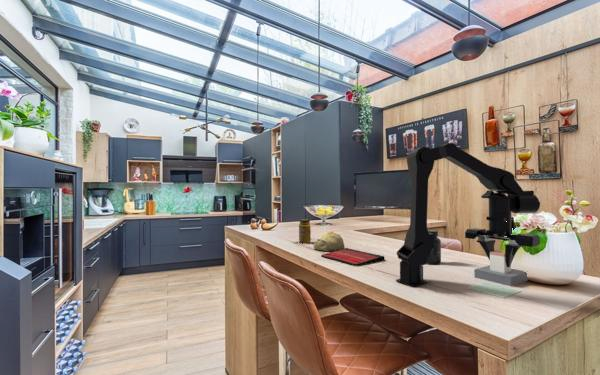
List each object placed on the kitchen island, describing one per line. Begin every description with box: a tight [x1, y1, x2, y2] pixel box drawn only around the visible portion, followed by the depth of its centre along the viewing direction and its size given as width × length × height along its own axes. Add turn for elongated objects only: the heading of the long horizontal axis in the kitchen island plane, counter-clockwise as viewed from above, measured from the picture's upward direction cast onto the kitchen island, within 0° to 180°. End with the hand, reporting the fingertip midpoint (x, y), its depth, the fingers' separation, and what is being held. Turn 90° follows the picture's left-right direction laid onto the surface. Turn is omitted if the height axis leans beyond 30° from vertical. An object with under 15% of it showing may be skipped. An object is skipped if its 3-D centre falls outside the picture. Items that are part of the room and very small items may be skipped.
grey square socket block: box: [473, 264, 529, 287], centre depth 92 cm, size 10×10×3 cm
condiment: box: [293, 218, 314, 245], centre depth 159 cm, size 7×8×12 cm
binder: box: [321, 247, 386, 267], centre depth 123 cm, size 16×2×21 cm
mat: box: [467, 281, 522, 299], centre depth 82 cm, size 9×9×1 cm
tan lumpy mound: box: [313, 231, 346, 252], centre depth 141 cm, size 14×12×8 cm
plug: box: [489, 249, 512, 273], centre depth 92 cm, size 4×4×8 cm
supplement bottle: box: [425, 229, 442, 265], centre depth 114 cm, size 7×7×12 cm
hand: (500, 265), depth 92 cm, fingers closed on plug, 4 cm apart
